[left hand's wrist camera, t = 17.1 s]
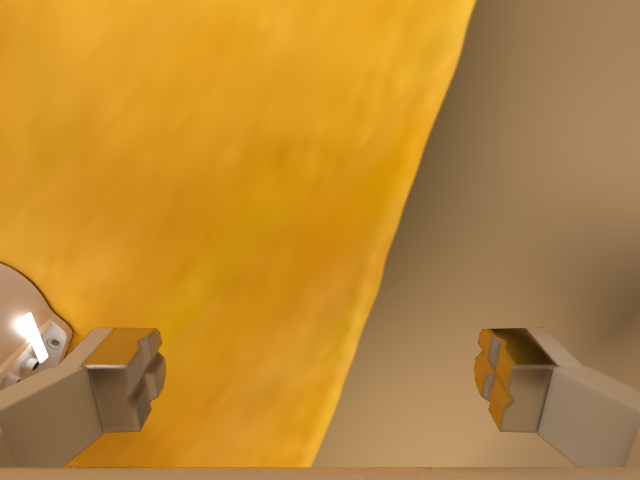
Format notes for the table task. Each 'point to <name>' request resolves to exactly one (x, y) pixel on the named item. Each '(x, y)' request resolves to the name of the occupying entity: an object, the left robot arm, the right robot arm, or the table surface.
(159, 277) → the table surface
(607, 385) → the left robot arm
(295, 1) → the table surface
